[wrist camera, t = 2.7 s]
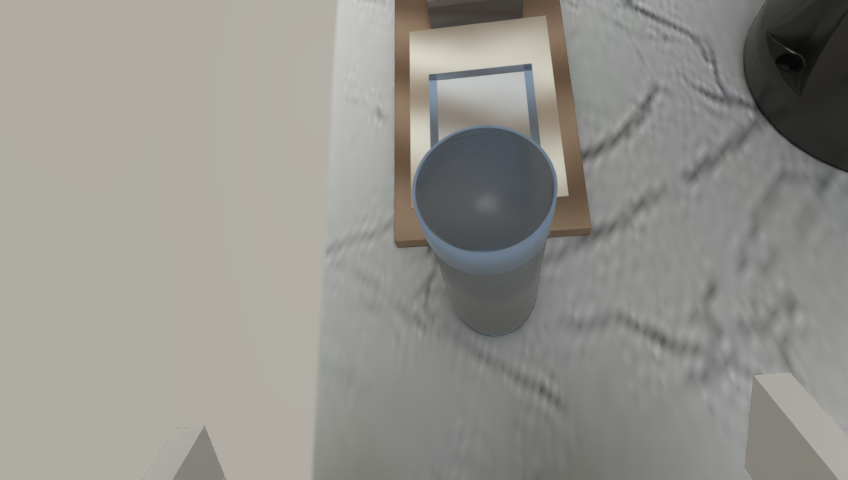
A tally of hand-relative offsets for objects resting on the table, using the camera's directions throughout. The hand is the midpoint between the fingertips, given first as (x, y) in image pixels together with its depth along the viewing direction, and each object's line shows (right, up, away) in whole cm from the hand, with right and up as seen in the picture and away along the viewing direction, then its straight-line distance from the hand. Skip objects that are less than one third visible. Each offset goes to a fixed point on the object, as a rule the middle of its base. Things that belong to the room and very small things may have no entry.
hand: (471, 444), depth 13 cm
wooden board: (+3, +15, +22) cm, 27 cm away
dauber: (+3, +2, +17) cm, 17 cm away
